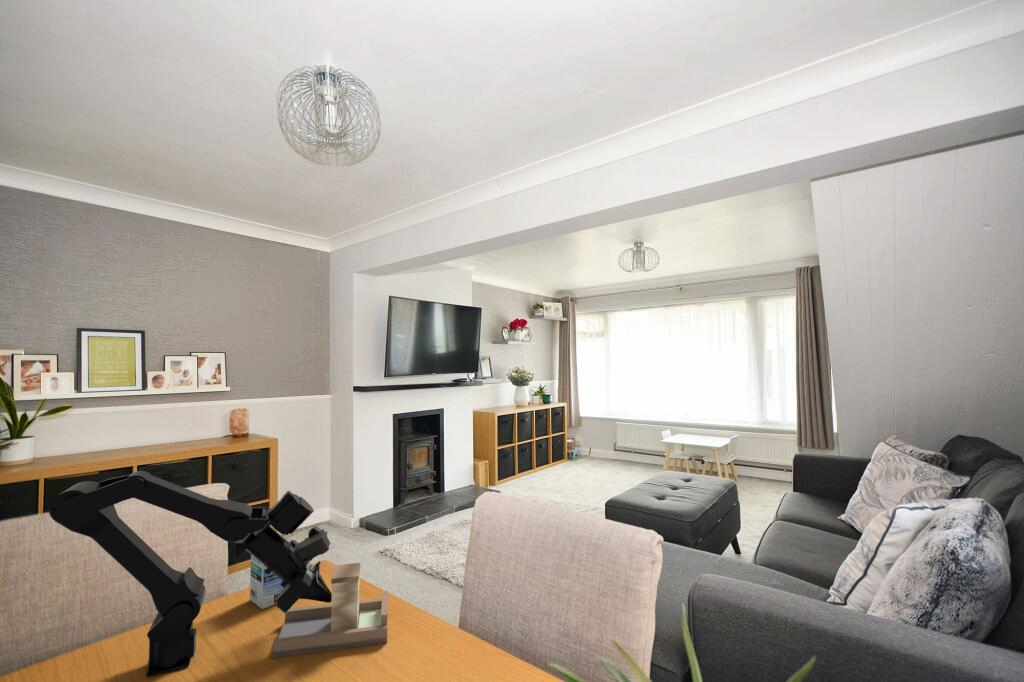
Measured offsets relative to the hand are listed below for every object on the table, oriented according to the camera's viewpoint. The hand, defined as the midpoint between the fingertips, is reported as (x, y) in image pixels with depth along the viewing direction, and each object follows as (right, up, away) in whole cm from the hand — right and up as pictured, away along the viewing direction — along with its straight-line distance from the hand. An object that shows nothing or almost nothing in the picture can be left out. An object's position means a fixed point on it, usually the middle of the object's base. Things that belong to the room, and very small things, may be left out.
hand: (331, 600), depth 98 cm
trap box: (+1, -7, 0) cm, 7 cm away
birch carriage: (+3, -5, 0) cm, 6 cm away
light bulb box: (-18, -7, +14) cm, 24 cm away
